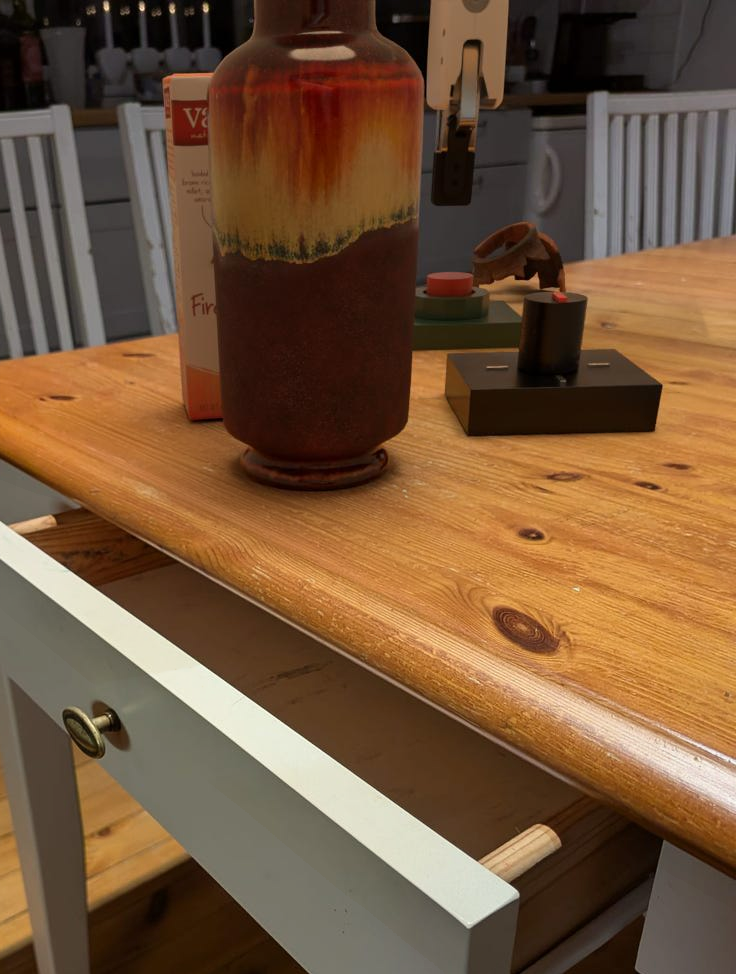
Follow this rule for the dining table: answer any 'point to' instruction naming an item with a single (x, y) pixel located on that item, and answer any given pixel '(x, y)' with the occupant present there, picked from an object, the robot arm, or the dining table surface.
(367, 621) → the dining table surface
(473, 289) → the block
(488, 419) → the dial console
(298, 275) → the vase
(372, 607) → the dining table surface
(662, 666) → the dining table surface
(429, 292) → the button
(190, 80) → the cracker box
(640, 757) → the dining table surface
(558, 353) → the browning dial
